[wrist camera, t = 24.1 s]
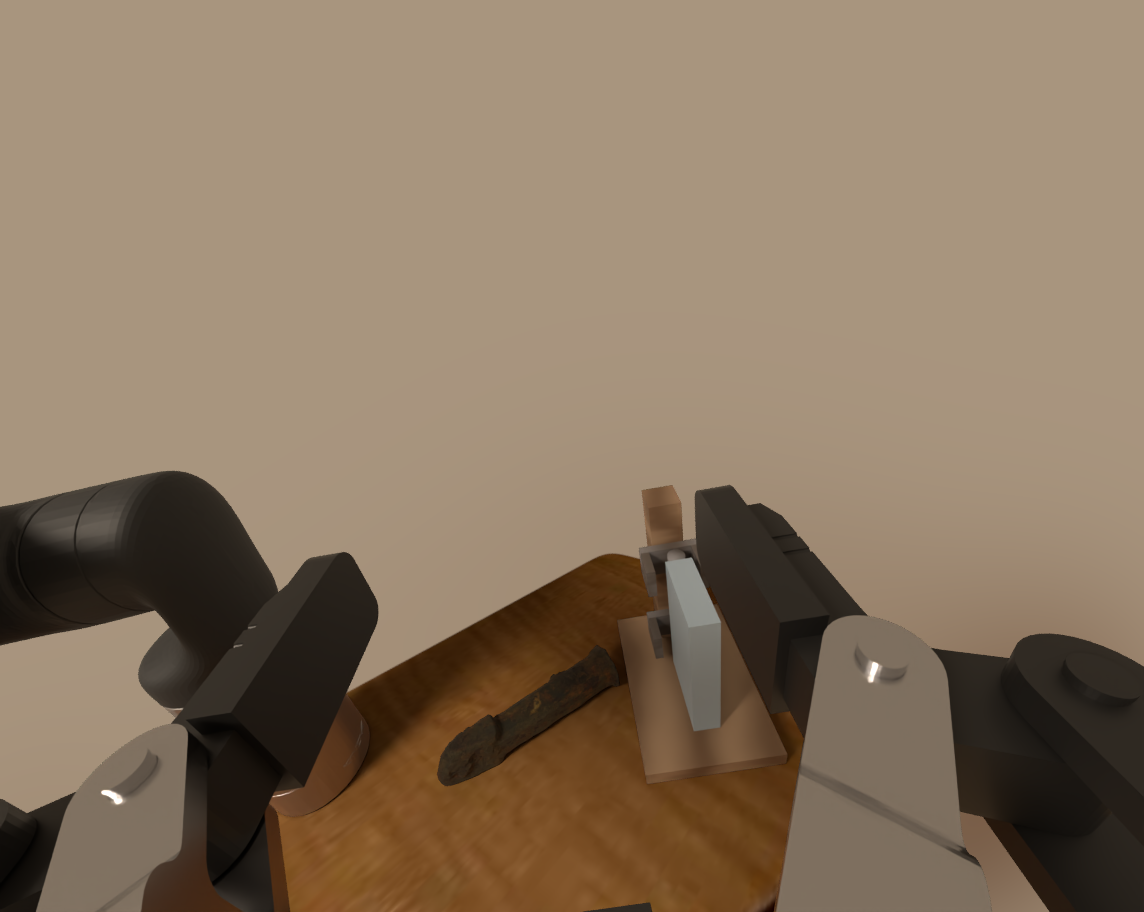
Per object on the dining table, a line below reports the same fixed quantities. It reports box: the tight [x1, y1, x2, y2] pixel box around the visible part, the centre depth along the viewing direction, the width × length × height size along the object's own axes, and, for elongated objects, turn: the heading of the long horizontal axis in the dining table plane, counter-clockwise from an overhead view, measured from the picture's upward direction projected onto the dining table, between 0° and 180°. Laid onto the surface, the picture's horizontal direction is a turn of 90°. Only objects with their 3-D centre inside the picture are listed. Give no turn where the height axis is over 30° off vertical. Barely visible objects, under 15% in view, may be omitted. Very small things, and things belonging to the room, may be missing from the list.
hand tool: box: [437, 645, 620, 786], centre depth 40 cm, size 19×4×5 cm, turn 117°
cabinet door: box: [665, 549, 721, 731], centre depth 37 cm, size 2×9×14 cm, turn 3°
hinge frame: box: [617, 485, 787, 784], centre depth 37 cm, size 12×16×20 cm
